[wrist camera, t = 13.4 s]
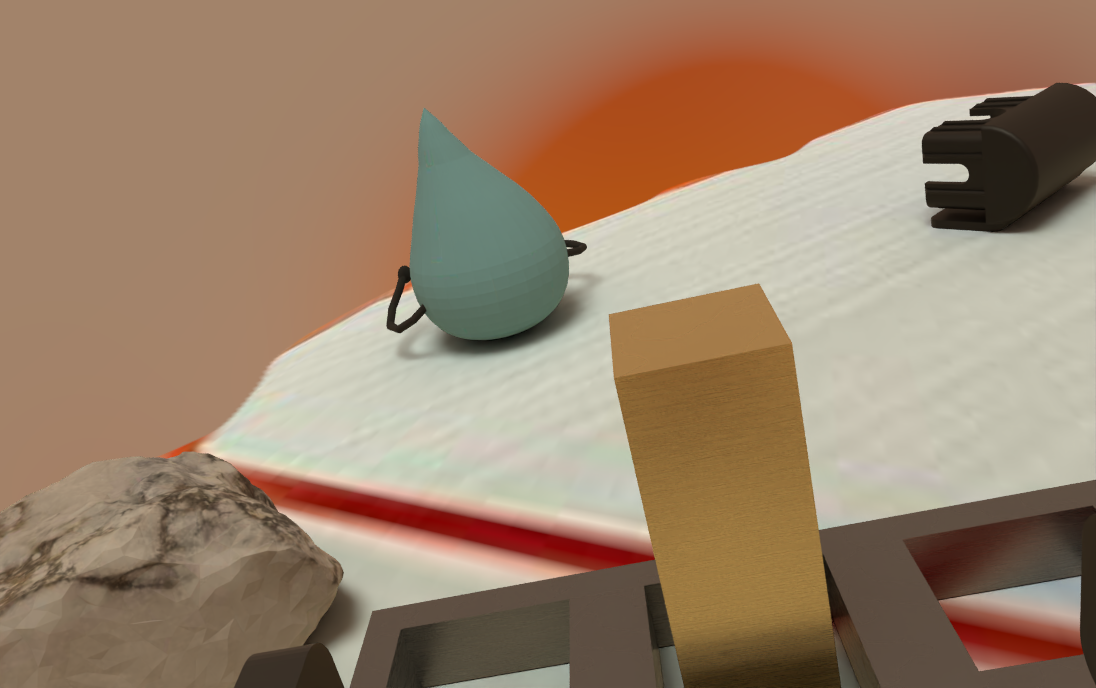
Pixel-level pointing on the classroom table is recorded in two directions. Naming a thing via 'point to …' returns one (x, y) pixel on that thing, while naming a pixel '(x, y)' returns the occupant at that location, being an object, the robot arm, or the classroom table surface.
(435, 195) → the toy
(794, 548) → the golden brown rectangular block
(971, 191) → the end cap
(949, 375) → the classroom table surface
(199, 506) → the decorative stone
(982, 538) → the rail
